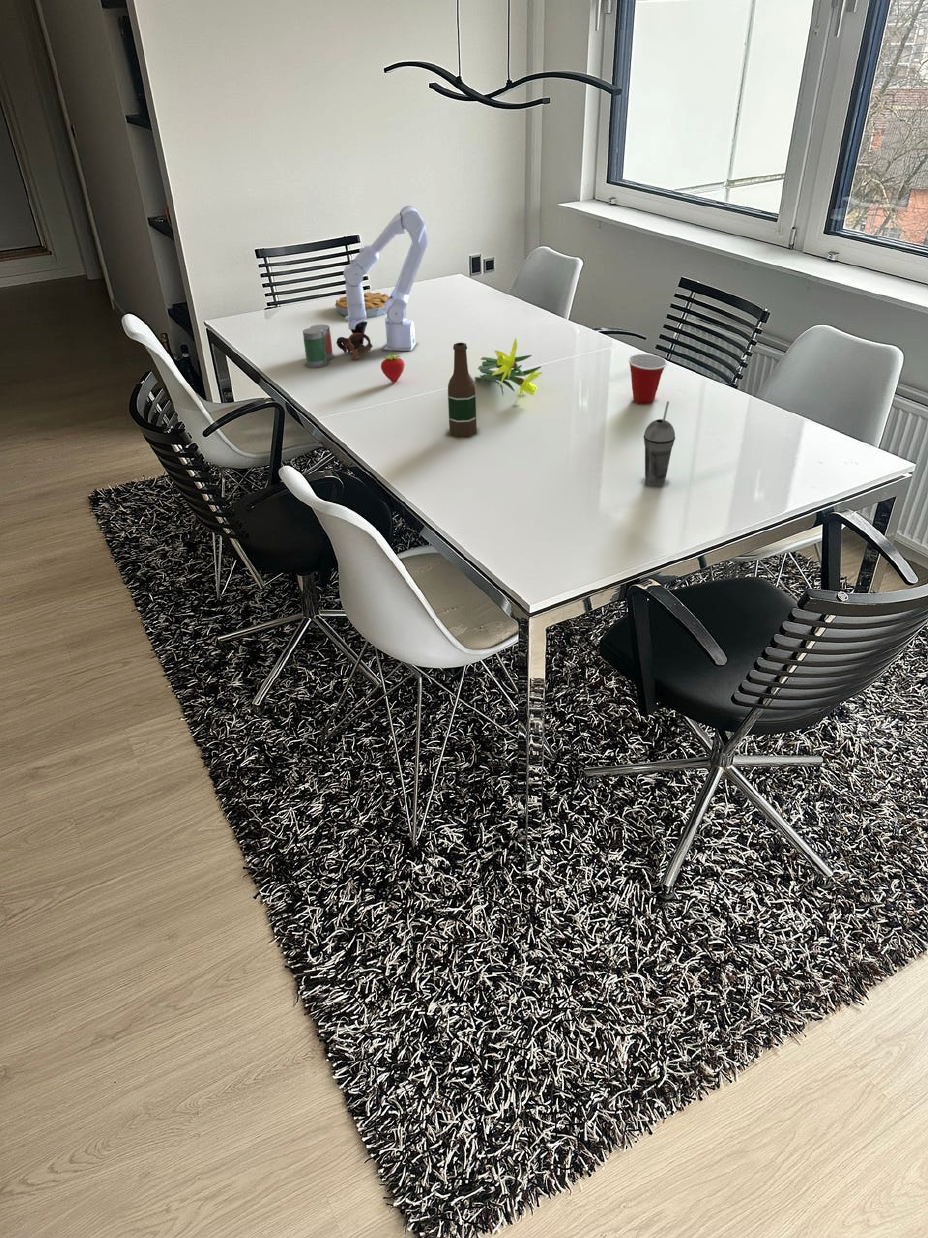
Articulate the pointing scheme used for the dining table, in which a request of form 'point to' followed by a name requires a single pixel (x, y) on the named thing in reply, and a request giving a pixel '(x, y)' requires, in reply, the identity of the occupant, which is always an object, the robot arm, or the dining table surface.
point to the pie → (366, 304)
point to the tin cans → (317, 345)
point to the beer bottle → (461, 396)
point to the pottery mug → (354, 344)
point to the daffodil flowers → (508, 371)
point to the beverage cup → (658, 450)
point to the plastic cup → (646, 376)
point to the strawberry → (392, 367)
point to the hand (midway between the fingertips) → (359, 344)
